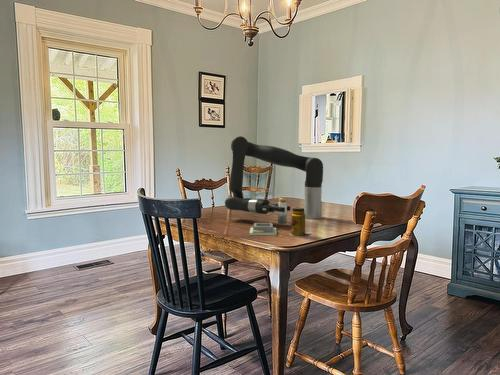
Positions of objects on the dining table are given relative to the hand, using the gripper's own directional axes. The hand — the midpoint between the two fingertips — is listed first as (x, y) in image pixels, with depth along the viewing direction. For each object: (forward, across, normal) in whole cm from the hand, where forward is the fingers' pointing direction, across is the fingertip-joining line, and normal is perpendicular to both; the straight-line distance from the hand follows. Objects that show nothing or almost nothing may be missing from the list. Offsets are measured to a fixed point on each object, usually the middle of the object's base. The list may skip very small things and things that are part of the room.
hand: (287, 209), depth 185 cm
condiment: (+13, -10, +9) cm, 19 cm away
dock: (-2, -17, +9) cm, 19 cm away
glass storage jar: (-3, 0, +7) cm, 8 cm away
